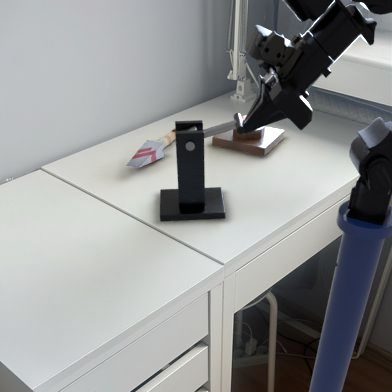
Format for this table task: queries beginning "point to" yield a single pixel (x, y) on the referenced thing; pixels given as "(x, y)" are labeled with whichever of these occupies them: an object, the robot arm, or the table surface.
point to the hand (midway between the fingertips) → (242, 130)
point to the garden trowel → (151, 151)
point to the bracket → (191, 180)
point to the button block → (250, 140)
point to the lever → (222, 127)
